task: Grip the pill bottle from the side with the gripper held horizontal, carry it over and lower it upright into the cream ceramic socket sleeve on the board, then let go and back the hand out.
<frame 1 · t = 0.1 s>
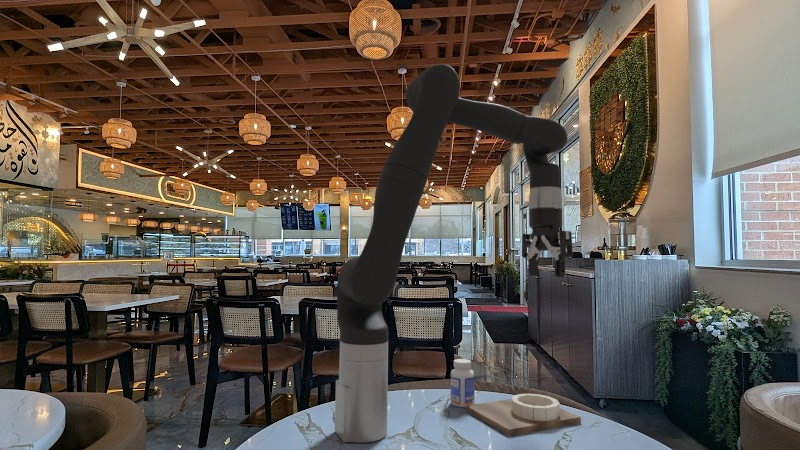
hand: (546, 276, 105), 29 cm above the table, tool pointing down, fingers open, 8 cm apart
socket board: (521, 416, 94), on the table
pill bottle: (462, 404, 102), on the table
socket sleeve: (535, 418, 93), resting on socket board
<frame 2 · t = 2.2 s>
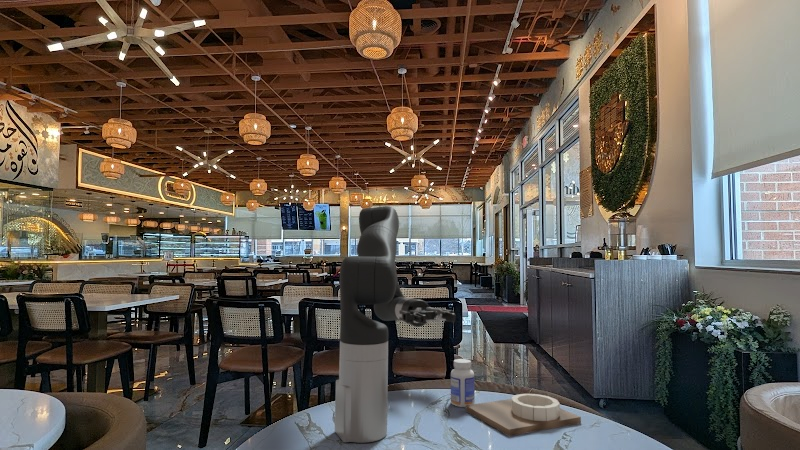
hand: (439, 318, 114), 18 cm above the table, tool horizontal, fingers open, 8 cm apart
nothing on the table moved.
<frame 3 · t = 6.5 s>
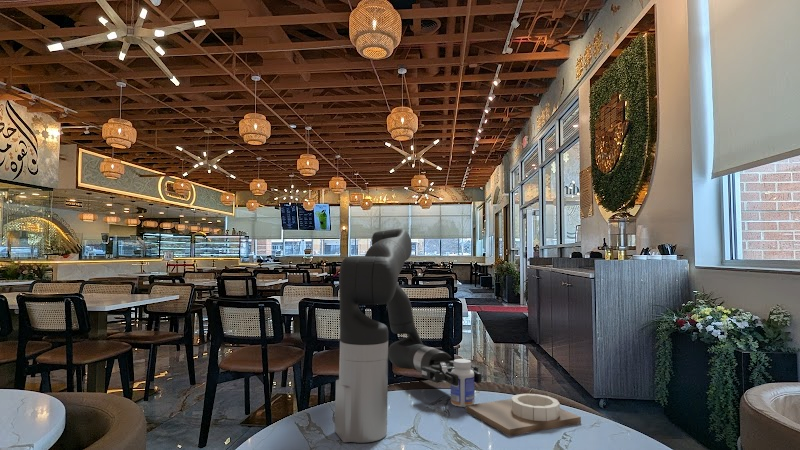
hand: (468, 379, 100), 6 cm above the table, tool horizontal, fingers closed on pill bottle, 5 cm apart
pill bottle: (462, 404, 102), on the table, touching gripper
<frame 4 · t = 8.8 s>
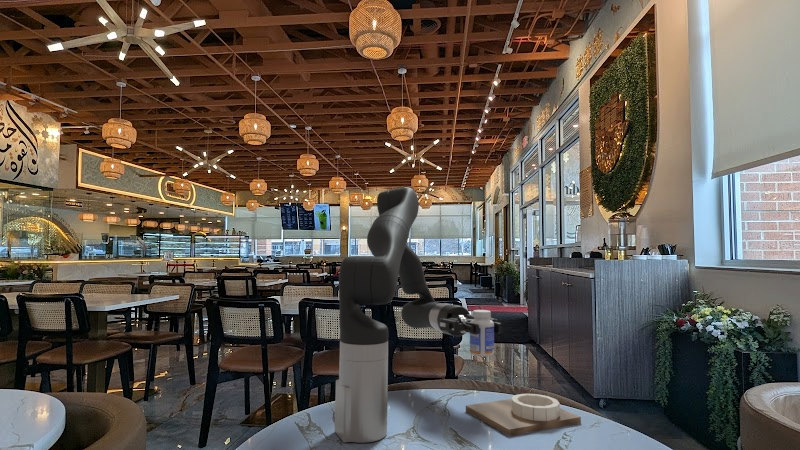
hand: (488, 329, 99), 18 cm above the table, tool horizontal, fingers closed on pill bottle, 5 cm apart
pill bottle: (481, 355, 101), point 11 cm above the table, touching gripper
when the fingers open (8 cm above the table, at t = 11.5 s): pill bottle drops 1 cm, resting on socket board.
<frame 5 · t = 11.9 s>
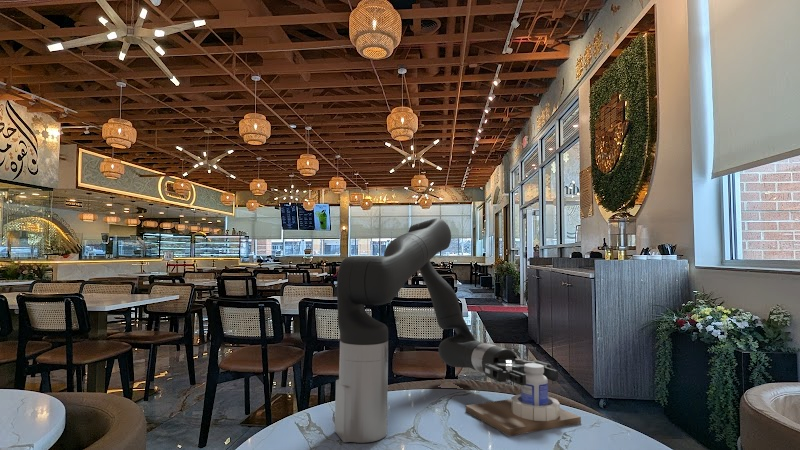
hand: (541, 378, 92), 9 cm above the table, tool horizontal, fingers open, 8 cm apart
pill bottle: (534, 413, 93), point 1 cm above the table, touching socket board
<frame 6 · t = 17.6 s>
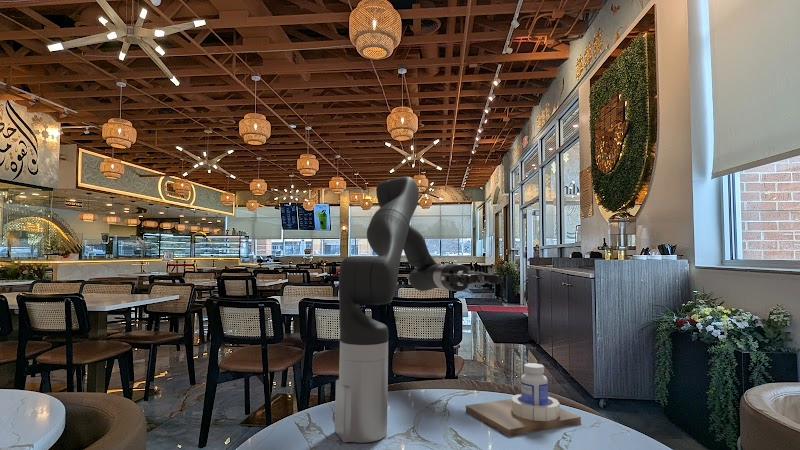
hand: (484, 279, 112), 28 cm above the table, tool horizontal, fingers open, 8 cm apart
nothing on the table moved.
at the end: pill bottle 0.1 cm off-centre on the socket sleeve, point 1.0 cm above the socket sleeve's base; pill bottle tilted 0°; the gripper is holding nothing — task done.
